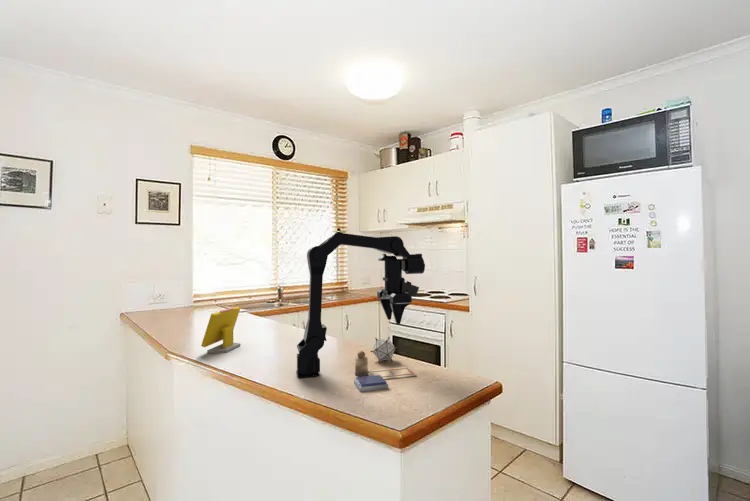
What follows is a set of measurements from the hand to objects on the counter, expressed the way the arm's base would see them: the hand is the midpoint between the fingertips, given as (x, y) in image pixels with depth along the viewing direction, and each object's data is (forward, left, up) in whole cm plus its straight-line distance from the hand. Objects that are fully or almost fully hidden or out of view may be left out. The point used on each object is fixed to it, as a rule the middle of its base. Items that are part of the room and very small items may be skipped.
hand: (393, 321), depth 128 cm
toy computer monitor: (-56, +43, -15) cm, 72 cm away
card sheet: (-3, -8, -15) cm, 17 cm away
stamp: (-12, -5, -15) cm, 20 cm away
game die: (-1, +7, -15) cm, 17 cm away
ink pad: (-12, -16, -15) cm, 25 cm away
